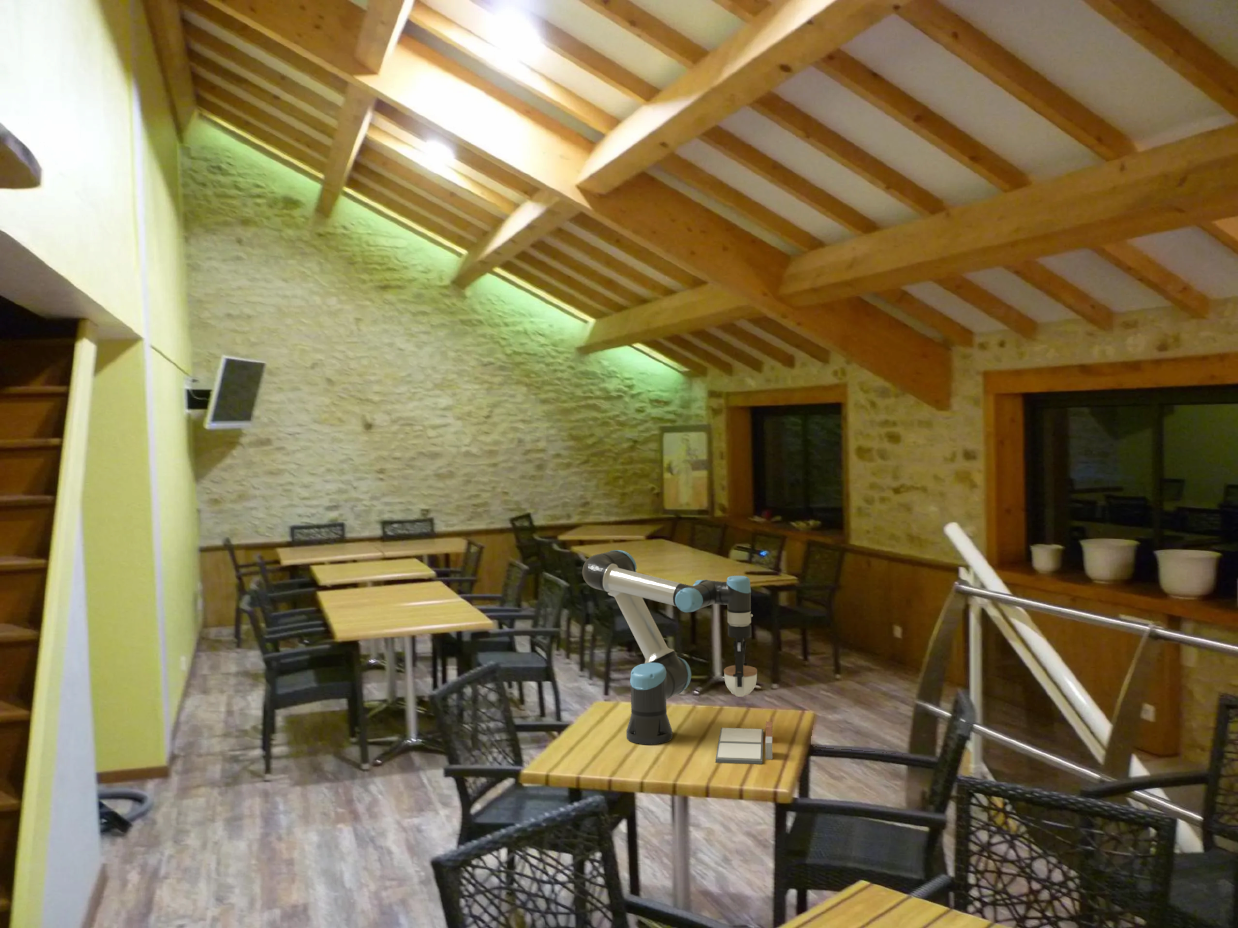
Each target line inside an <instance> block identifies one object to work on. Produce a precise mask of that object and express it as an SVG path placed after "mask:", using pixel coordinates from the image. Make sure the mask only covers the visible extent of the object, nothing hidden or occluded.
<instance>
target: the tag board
mask: <svg viewBox="0 0 1238 928" xmlns="http://www.w3.org/2000/svg"><path fill="white" fill-rule="evenodd" d="M719 731H720V732H719V738H718V743H717V749H716V754H715V763H718V764H719V763H722V764H745V765H747V764H748V765H749V764H750V765H763V756H764V755H763V750H764V747H763V746H764V745H765V760H773V721H765V744H764V729H763V728H746V727H745V728H741V727H740V728H738V727H737V728H736V727H720V730H719Z"/></svg>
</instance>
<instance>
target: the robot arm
mask: <svg viewBox="0 0 1238 928" xmlns="http://www.w3.org/2000/svg"><path fill="white" fill-rule="evenodd" d="M637 568H638V567H637V563H636V560H635V559H634V557H633V556H632V555H631V554H630V553H628V552H627V551H626V550H625V551H624V550H621V549H620V550H619V549H617V550H616V549H615V550H610V551H607V552H601V553H598V554H593V555H591V556H589V558H587V559H586V560H585V562H584V564H583V567H582V572H581V573H582V577H583V580H584V581H585V583H586V584H587V585H588V586H589V587H591V588H593V589H596V590H600V591H602V592H603V591H604V592H606V593H607V595H608V596H611V597H613V598H614V599H615V601H616V603H617V605H618V607H619V609H620V611H621V613H622V615H623V617H624V619H625V621H626V622H627V625H628V626H629V629H630V631H631V633H632V635H633V636H634V640H635V641H636V643H637V645H638V647H639V649H640V651H641V653H642V654H643V657H644V663H641V664H638V665H636V666H634V667H633V668H632V669H631V672H630V679H629V683H630V706H631V707H630V708H631V709H630V711H631V714H630V717H629V721H628V724H627V728H626V739H627V740H628V741H629V742H631V743H634V744H638V743H639V744H638V745H659V744H658V743H660V744H664V743H667V742H670V741H671V740H672V739H673V729H672V726H671V722H670V719H669V717H668V714H667V699H669V698H672V697H674V696H676V695H678V694H681V693H682V692H683V691H685V690H687V688H688V686H689V685H690V683H691V679H692V670H691V667H690V665H689V663H688V662H687V661H686V660H685V659H684V658H681V657H679V656H678V655H677V654H676V651H675V650H674V649H673V648H669V647H668V645H667V644H666V642H665V640H664V638H663V635H662V633H661V631H660V630H659V627H658V626H657V624H656V621H655V620H654V618H653V616H652V614H651V612H650V610H649V608H648V606H647V604H646V602H645V600H644V599H646V600H649V601H654V602H659V603H663V604H665V605H671V606H674V607H677V609H678V610H680V611H681V612H684V613H693V612H697V611H698V610H700V609H703V608H706V607H708V606H710V605H723V606H726V605H727V614H726V615H727V623H728V625H727V636H728V637H729V638H731V639H733V638H735V640H733V655H734V659H735V661H734V665H735V674H733V677H735V691H736V695H735V697H739V698H742V697H743V698H744V697H745V695H744V674H743V665H745V666H748V663H747V662H746V660H745V659H746V658H745V657H746V649H747V641H746V640H745V639H747V638H750V637H751V636H752V625H751V623H752V617H753V616H754V615H753V614H752V613H751V612H752V609H751V606H752V603H751V602H752V601H751V600H752V599H751V595H752V594H751V593H752V589H751V580H750V579H751V578H749V577H748V576H745V575H730V576H728V577H727V578H726V581H720V580H718V581H717V580H710V579H709V580H708V579H697V580H696V581H694V584H692V585H690V584H686V583H681V582H677V581H673V580H670V579H666V578H661V577H657V576H653V575H649V574H644V573H640V572H637ZM670 739H671V740H670ZM663 742H664V743H663Z"/></svg>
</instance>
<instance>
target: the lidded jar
mask: <svg viewBox="0 0 1238 928" xmlns="http://www.w3.org/2000/svg"><path fill="white" fill-rule="evenodd" d="M723 673H724V675H723V676H724V682H725V686H726V687H727V690H729V692H731V693H730V694H732V695H735V696H736V691H735V677H733V674H735V664H734V665H729V666H725V668H724V669H723ZM743 674H744V696H748V695H750V694H751V692H752V691H754V689H755V687H756V686H757V685H756V684H757V678H758V669H757V667H753V666H750V665H747V666H745V665H743Z"/></svg>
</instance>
